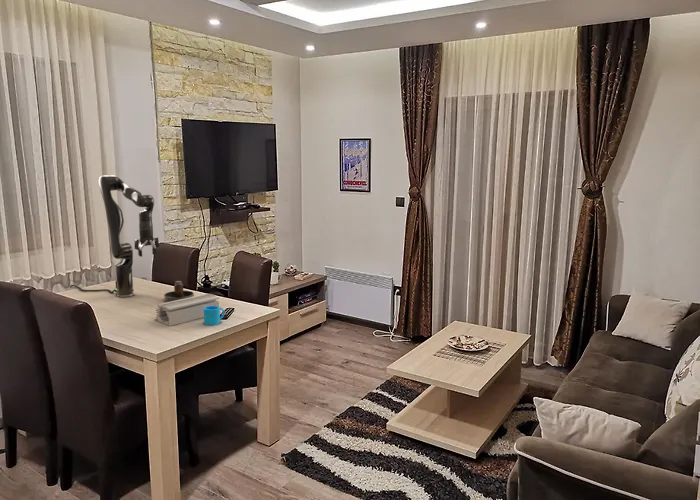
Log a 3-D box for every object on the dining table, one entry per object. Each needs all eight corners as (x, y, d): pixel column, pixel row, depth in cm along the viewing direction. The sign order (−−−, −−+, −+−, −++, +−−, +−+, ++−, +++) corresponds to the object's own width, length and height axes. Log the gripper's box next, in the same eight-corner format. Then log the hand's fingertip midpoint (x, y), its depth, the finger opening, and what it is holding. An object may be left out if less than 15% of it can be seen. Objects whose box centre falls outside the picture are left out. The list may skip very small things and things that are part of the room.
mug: (209, 326, 261) (209, 311, 260) (201, 322, 267) (200, 307, 265) (229, 321, 270) (228, 306, 269) (220, 317, 276) (219, 303, 274)
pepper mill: (172, 299, 308) (172, 281, 306) (178, 297, 312) (178, 280, 311) (179, 300, 306) (178, 282, 304) (185, 298, 310) (184, 281, 308)
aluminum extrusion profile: (155, 319, 270) (154, 301, 268) (204, 308, 293) (204, 291, 291) (170, 325, 261) (169, 307, 259) (219, 313, 284) (218, 296, 282)
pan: (158, 301, 305) (157, 295, 304) (178, 294, 320) (177, 289, 320) (180, 304, 298) (180, 299, 298) (199, 298, 314) (199, 292, 313)
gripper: (153, 227, 306) (154, 253, 309) (131, 229, 295) (132, 256, 298) (160, 228, 301) (161, 254, 304) (138, 230, 290) (139, 257, 293)
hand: (147, 255), depth 301 cm, fingers open, 8 cm apart
